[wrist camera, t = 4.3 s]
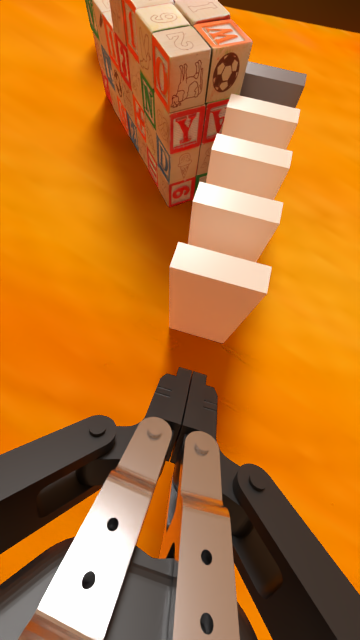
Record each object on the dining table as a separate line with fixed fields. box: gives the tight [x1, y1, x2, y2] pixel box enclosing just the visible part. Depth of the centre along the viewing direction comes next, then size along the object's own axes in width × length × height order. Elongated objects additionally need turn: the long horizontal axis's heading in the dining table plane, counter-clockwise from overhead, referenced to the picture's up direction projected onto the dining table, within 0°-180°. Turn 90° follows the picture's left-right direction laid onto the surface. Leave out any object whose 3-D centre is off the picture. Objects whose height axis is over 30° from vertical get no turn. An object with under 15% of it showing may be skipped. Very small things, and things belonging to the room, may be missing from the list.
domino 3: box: [206, 133, 293, 200], centre depth 20 cm, size 5×2×10 cm, turn 74°
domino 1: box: [240, 61, 307, 108], centre depth 23 cm, size 5×2×10 cm, turn 74°
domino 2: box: [222, 94, 300, 150], centre depth 21 cm, size 5×2×10 cm, turn 74°
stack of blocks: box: [85, 0, 252, 207], centre depth 24 cm, size 21×6×12 cm, turn 25°
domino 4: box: [188, 182, 283, 262], centre depth 18 cm, size 5×2×10 cm, turn 74°
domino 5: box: [169, 242, 272, 343], centre depth 17 cm, size 5×2×10 cm, turn 74°
